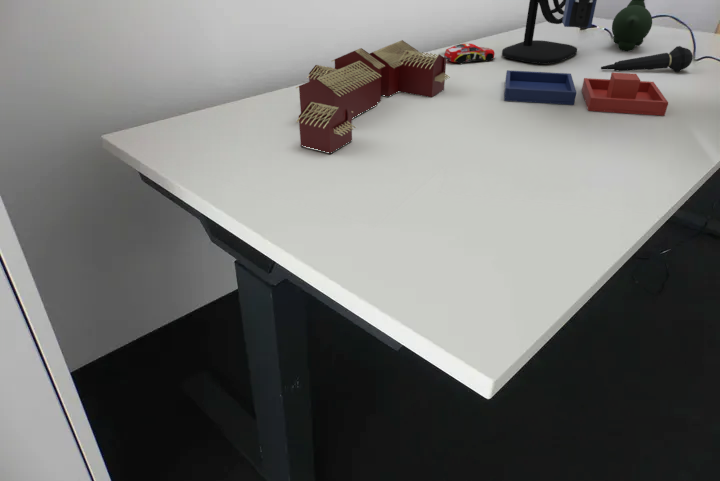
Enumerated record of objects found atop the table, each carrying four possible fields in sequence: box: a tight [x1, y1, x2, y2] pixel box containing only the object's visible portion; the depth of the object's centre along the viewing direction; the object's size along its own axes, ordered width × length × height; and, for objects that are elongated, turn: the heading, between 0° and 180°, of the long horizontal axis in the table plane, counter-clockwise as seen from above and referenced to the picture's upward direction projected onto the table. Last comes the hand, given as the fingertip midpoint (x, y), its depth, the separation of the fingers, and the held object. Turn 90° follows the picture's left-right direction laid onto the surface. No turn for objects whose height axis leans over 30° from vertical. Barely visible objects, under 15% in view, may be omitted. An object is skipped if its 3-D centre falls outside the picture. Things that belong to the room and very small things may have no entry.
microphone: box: [600, 45, 694, 73], centre depth 126 cm, size 6×6×20 cm
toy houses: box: [295, 39, 451, 153], centre depth 104 cm, size 45×20×10 cm, turn 148°
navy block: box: [562, 0, 598, 29], centre depth 98 cm, size 5×5×5 cm
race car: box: [443, 42, 496, 64], centre depth 136 cm, size 13×5×4 cm, turn 105°
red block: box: [607, 72, 641, 99], centre depth 107 cm, size 5×5×5 cm
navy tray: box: [503, 69, 577, 106], centre depth 114 cm, size 14×14×3 cm
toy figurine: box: [611, 0, 653, 53], centre depth 143 cm, size 9×19×25 cm
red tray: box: [581, 77, 669, 117], centre depth 108 cm, size 14×14×3 cm
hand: (576, 22), depth 99 cm, fingers closed on navy block, 4 cm apart
